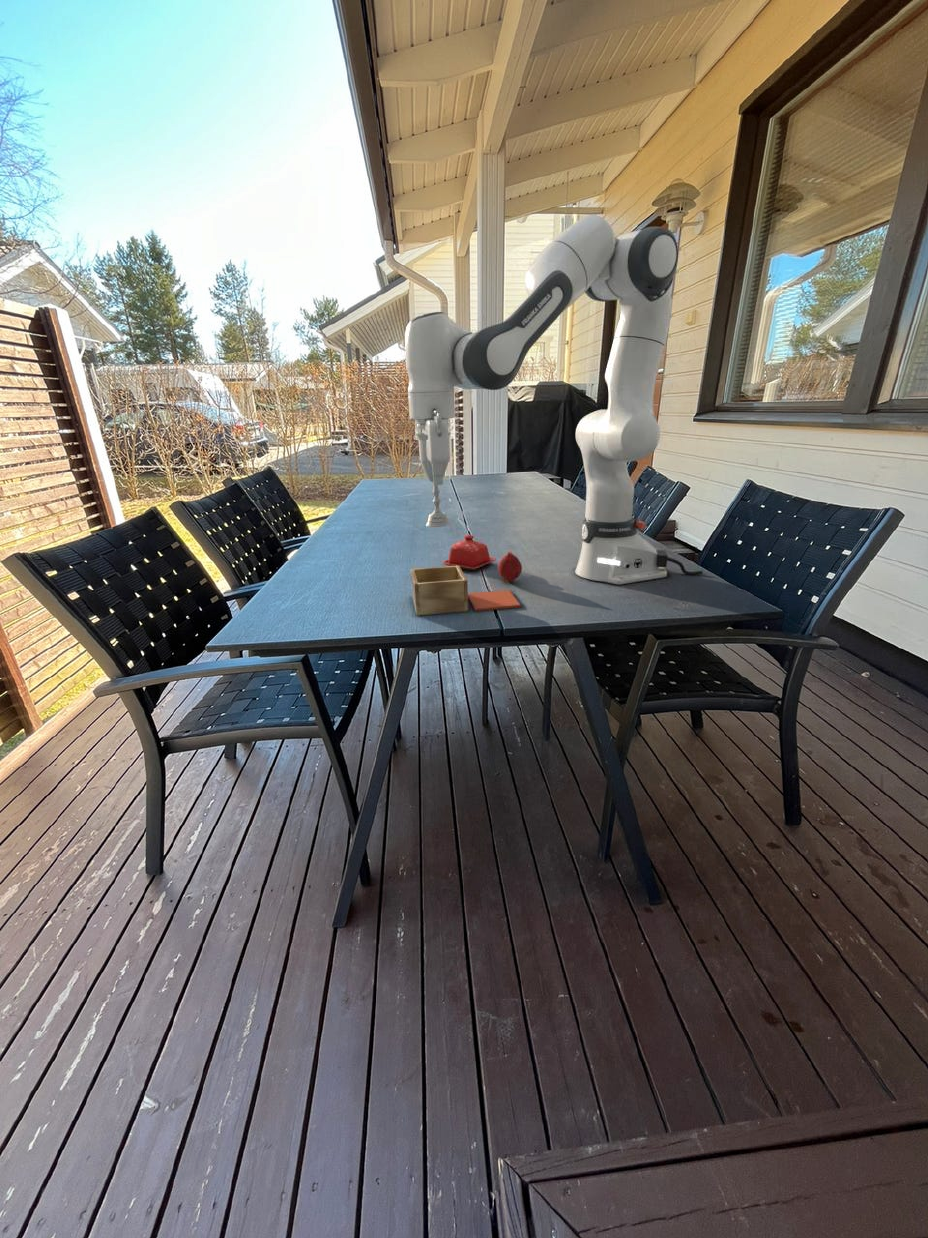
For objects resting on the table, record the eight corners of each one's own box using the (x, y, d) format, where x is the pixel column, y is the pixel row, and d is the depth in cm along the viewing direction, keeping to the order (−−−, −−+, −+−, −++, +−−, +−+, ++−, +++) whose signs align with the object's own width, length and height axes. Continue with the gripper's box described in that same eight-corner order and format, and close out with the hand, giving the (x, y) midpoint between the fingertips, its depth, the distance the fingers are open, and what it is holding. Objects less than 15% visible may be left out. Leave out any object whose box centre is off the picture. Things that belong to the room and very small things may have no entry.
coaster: (508, 592, 123) (508, 589, 123) (520, 607, 114) (520, 604, 113) (467, 595, 121) (466, 593, 121) (475, 611, 112) (475, 608, 112)
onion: (526, 581, 130) (526, 550, 127) (511, 587, 126) (512, 555, 123) (507, 577, 133) (508, 546, 130) (493, 583, 129) (493, 551, 126)
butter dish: (464, 557, 151) (463, 528, 148) (498, 563, 145) (498, 532, 142) (440, 567, 143) (438, 536, 140) (474, 574, 137) (474, 542, 133)
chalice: (449, 528, 106) (445, 434, 99) (417, 528, 107) (411, 435, 100) (457, 520, 113) (454, 431, 106) (426, 520, 114) (421, 432, 107)
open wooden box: (459, 594, 123) (458, 565, 120) (468, 611, 112) (467, 580, 110) (412, 598, 121) (410, 568, 118) (416, 615, 111) (414, 584, 108)
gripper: (456, 408, 92) (459, 488, 98) (441, 408, 111) (444, 475, 116) (420, 410, 91) (425, 490, 97) (411, 409, 110) (416, 476, 115)
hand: (435, 482), depth 107 cm, fingers closed on chalice, 5 cm apart
